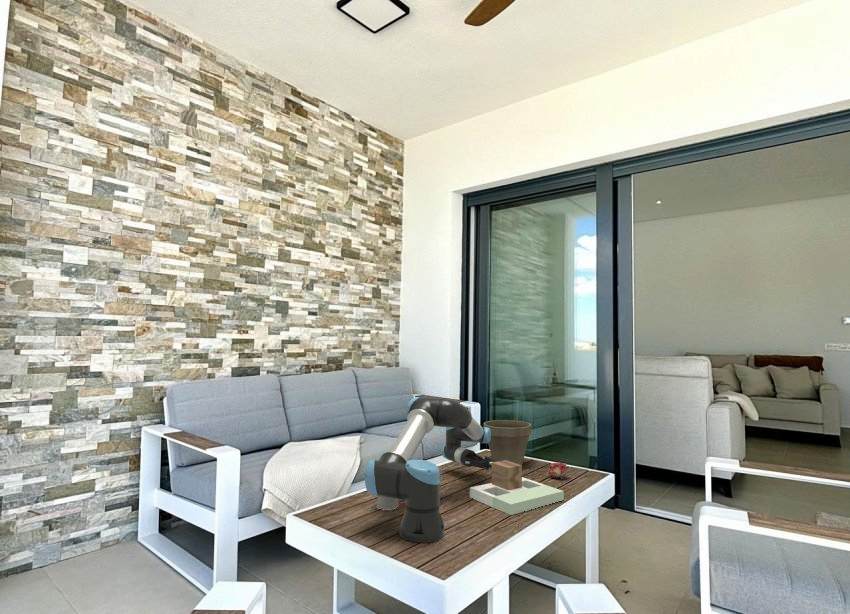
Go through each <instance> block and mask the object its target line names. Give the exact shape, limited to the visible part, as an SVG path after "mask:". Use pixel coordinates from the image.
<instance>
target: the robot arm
mask: <svg viewBox="0 0 850 614" xmlns="http://www.w3.org/2000/svg"><path fill="white" fill-rule="evenodd" d="M405 415H406V420H407V423H406V424H405V426H404V427H403V429H402V430H401V432H400V434H399V435H398V437H397V438H396V440H395V442H394V443H393V444H392V446H391V448H390V449H389V451H386V452H384V453H382V454H381V455H380V457H379V458H378V459H371V460H370V461H368V462H367V465H366V469H365V472H364V486H365V489H366V491H367V493H368V494H369V495H371V496H375V497H377V498H378V497H387V498H394V499H399V500H404V504H405V505H404V507H405V508H404V512H403V515H402V518H401V522H400V523H399V524H400V525H399V536H400V537H401V538H402V537H403V538H402V539H404V540H405V539H406V541H408V540H409V541H408V542H412V541H413V542H412V543H422V544H423V543H426V542H427V543H434V542H437V541H439V540H441V539H443V538H444V536H445V525H444V521H443V517H442V514H441V511H440V504H441V503H440V500H441V499H440V498H441V497H440V496H441V495H440V494H441V491H440V490H441V474H440V473H441V471H440V468H439V466H438V465H436V464H435V463H434V462H432V461H427V460H424V459H413V457H414V455H415V454H416V451H417V450H418V448H419V447H420V444H421V443H422V441H423V439H424V437H425V436H426V434H428V433H430V432H432V430H433V429H434V427H440V428H445V443H444V444H443V445H442V447H441V450H440V452H441V453H440V454H441V455H442V457H443V458H444V459H446V460H448V461H450V462H454V463H457V464H459V465H461V466H466V467H469V468H471V467H475V468H478V469H486V471H489V469H490V470H492V462H495V461H494V460H492V458H490V457H488V456H487V455H484V456H483V457H482V456H480V455H479V454H477V452H475V451H474V450H472V449H470V448H469V449H468V448H467V447H466V448H465V447H462V442H471V443H478V444H488V443H489V442H490V440H491V430H490V428H488V427H484V426H482V425H480V423H479V422H478V421H477V420H476V419H475V418H474V417H473V415H472V412H471V411H470V409H468V408H467V406H464V405H463V404H461V403H460V402H458V401H456V400H453V399H450V398H441V397H439V398H438V397H426V396H417V397H413V398H412V399H410V401H409V402H408V404H407V408H406V410H405ZM427 543H426V544H427Z"/></svg>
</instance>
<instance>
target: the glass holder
mask: <svg viewBox="0 0 850 614" xmlns="http://www.w3.org/2000/svg"><path fill="white" fill-rule="evenodd" d="M399 500H400V499H394V498H387V497H378V496H377V504H376V506H377V507H378V508H382V509H393V508H397V507H398V506H399ZM398 508H399V507H398ZM398 508H397V509H398Z"/></svg>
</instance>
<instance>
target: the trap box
mask: <svg viewBox="0 0 850 614" xmlns="http://www.w3.org/2000/svg"><path fill="white" fill-rule="evenodd" d="M491 483H492V482H490V483H485V484H481V485H474V486H471V487H469V498H470V499H472V498H473V500H475V501H478V502H479V503H482V504H485V505H487V506H488V507H491V508H493V509H496V510H498V511H500V512H503V513H505V514H507V515H509V516H512V515H513V516H514V515H517V514H520V513H524V511H525V512H527V511H531V509H532V510H536V509H539V508H538V507H540V508H542V507H541V506H543V507H546V506H545V505H547V506H550V505H549V504H551V505H553V504H552V503H555V502H558V501H562V500H564V501H565V499H564V497H565V491H564V490H562V489H559V488H556V487H552V486H550V485H547V484H544V483H540V482H537V481H535V480H532V479H529V478H526V477H524V476H522V487H521V488H516V489H512V490H506V489H503V488H500V487H498V486H495V485H493V484H491ZM562 502H563V501H562ZM558 503H559V502H558ZM555 504H556V503H555ZM535 508H536V509H535Z"/></svg>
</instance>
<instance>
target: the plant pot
mask: <svg viewBox="0 0 850 614" xmlns="http://www.w3.org/2000/svg"><path fill="white" fill-rule="evenodd" d="M483 427H488V428H490V430H491V440H490V442H489V443H487V444H488V448H489V452H490V455H491V459H492V460H494V461H495V462H498V461H504V460H506V461H509V462H513V463H516V464H519V465H522V466H523V463H524V459H525V455H526V451H527V446H528V443H529V439H530V435H531V434H532V424H531V423H530V422H526V421H522V420H514V419H513V420H511V419H510V420H509V419H508V420H507V419H503V420H501V419H498V420H495V419H494V420H488V421H485V422H483Z"/></svg>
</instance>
